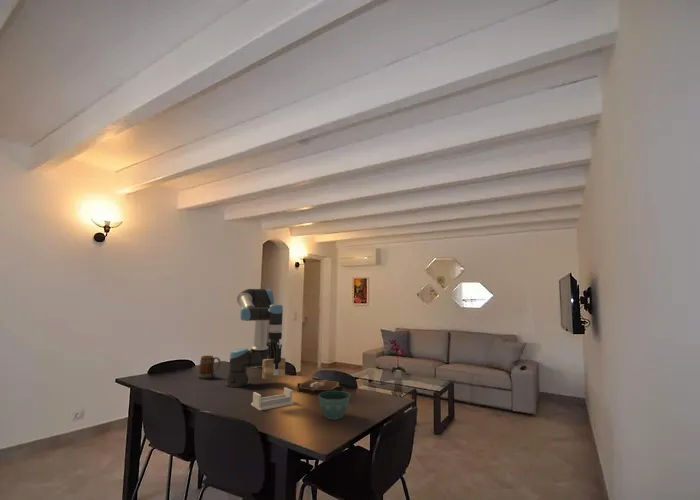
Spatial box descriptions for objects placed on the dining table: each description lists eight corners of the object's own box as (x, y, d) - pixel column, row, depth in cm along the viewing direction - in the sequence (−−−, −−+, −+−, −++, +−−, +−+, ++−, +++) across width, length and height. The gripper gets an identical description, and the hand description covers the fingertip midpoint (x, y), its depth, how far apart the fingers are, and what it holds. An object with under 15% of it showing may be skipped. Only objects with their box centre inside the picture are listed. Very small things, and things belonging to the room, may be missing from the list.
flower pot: (324, 424, 179) (324, 400, 180) (313, 413, 193) (314, 392, 195) (354, 420, 185) (355, 397, 186) (342, 410, 200) (342, 389, 201)
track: (251, 404, 207) (251, 391, 208) (283, 399, 219) (284, 386, 219) (259, 410, 197) (260, 396, 198) (293, 404, 209) (293, 391, 210)
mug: (195, 378, 266) (196, 357, 268) (203, 375, 276) (204, 354, 278) (215, 380, 263) (216, 358, 265) (222, 376, 274) (224, 355, 275)
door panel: (262, 378, 207) (262, 359, 209) (281, 375, 214) (282, 357, 216) (265, 379, 204) (265, 360, 205) (284, 376, 211) (285, 358, 212)
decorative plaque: (304, 378, 261) (346, 380, 255) (304, 382, 261) (346, 385, 255) (289, 388, 232) (336, 392, 226) (289, 393, 232) (335, 397, 226)
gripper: (262, 331, 217) (261, 372, 214) (275, 333, 203) (274, 377, 201) (274, 330, 221) (273, 371, 219) (288, 333, 208) (286, 376, 205)
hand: (273, 374), depth 210 cm, fingers closed on door panel, 4 cm apart
